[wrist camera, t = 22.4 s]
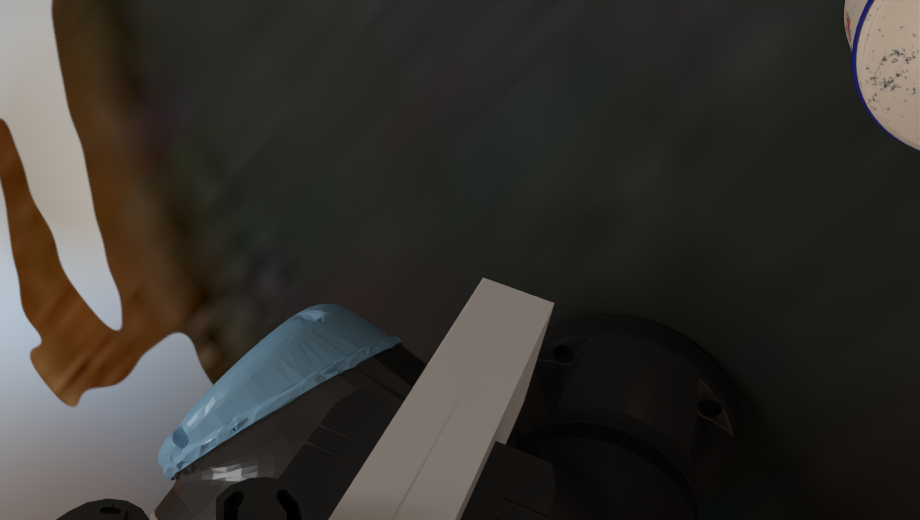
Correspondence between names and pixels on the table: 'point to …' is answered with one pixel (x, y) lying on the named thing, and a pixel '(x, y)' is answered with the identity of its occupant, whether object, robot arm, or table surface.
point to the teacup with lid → (887, 63)
